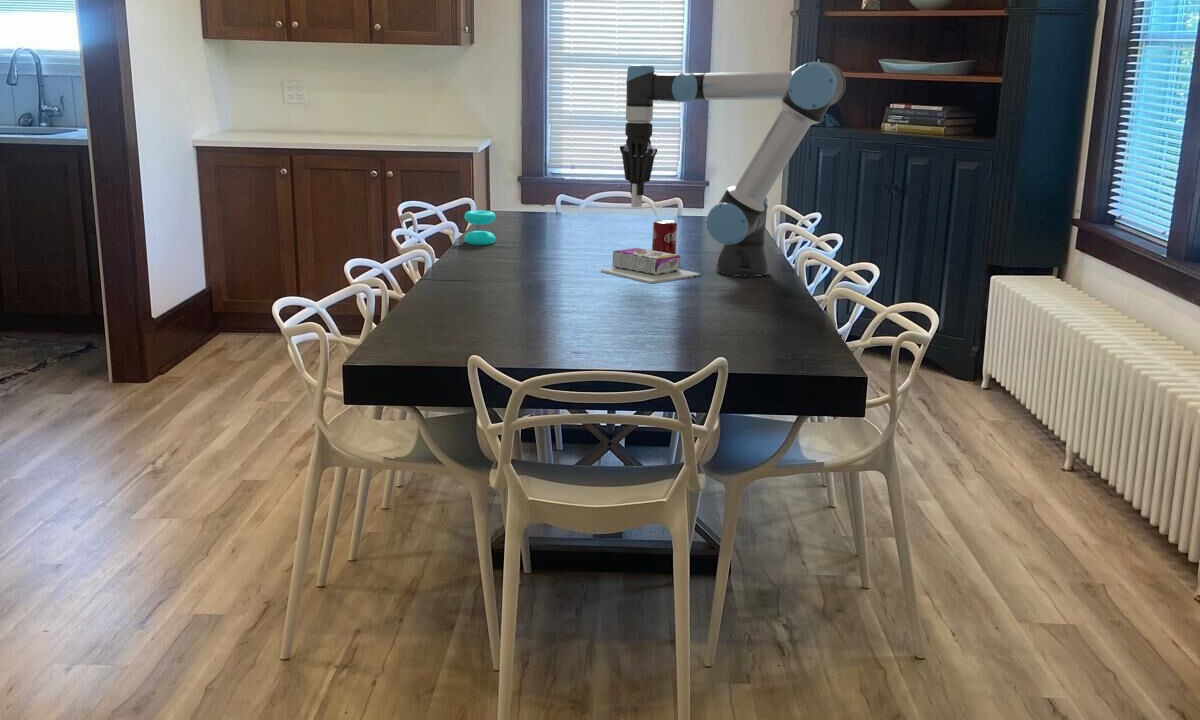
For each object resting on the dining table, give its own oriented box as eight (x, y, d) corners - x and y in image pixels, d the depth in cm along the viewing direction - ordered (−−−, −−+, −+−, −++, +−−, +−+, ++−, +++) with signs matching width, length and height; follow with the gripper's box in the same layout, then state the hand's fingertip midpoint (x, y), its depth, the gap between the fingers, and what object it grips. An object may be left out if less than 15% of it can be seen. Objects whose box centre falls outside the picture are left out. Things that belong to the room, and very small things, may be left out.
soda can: (647, 261, 338) (649, 221, 335) (657, 258, 344) (659, 219, 341) (669, 264, 335) (671, 224, 332) (679, 260, 341) (681, 221, 338)
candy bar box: (637, 246, 330) (681, 254, 320) (636, 263, 331) (680, 271, 321) (612, 249, 322) (657, 258, 311) (611, 267, 323) (656, 276, 313)
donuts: (466, 209, 362) (497, 210, 362) (466, 240, 365) (497, 241, 365) (462, 213, 352) (493, 214, 352) (462, 245, 355) (493, 246, 355)
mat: (700, 275, 318) (700, 273, 318) (650, 283, 305) (650, 281, 305) (650, 264, 332) (650, 262, 332) (601, 271, 319) (601, 269, 319)
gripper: (665, 123, 311) (662, 208, 317) (632, 120, 320) (630, 203, 326) (646, 123, 306) (643, 210, 312) (613, 121, 315) (611, 205, 321)
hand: (636, 206), depth 319 cm, fingers closed
